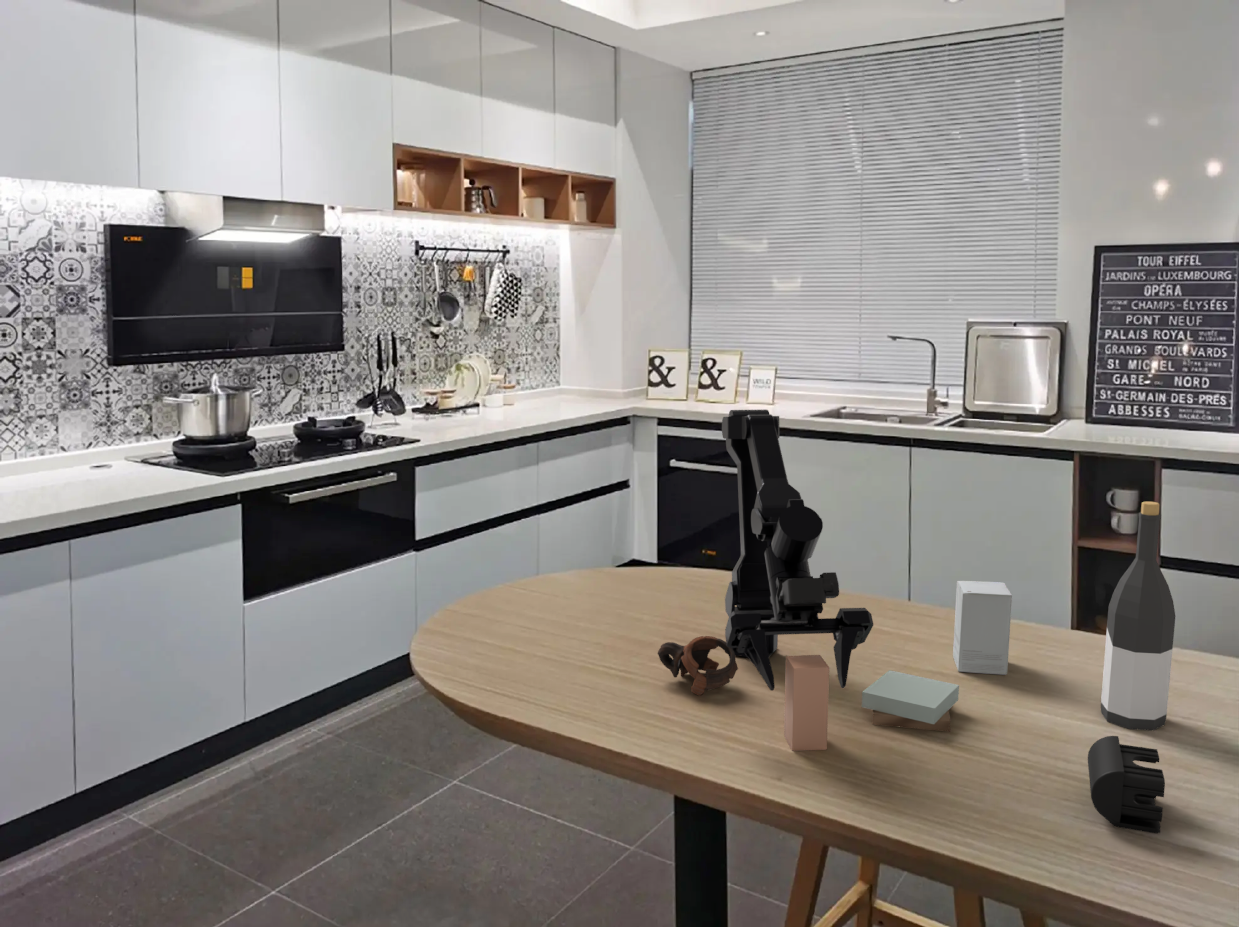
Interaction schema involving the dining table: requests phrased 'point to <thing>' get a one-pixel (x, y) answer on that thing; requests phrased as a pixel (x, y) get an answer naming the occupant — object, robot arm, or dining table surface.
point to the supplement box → (982, 627)
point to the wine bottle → (1139, 637)
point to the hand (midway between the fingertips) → (808, 688)
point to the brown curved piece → (699, 662)
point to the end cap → (1125, 784)
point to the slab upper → (910, 696)
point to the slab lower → (910, 721)
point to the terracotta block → (806, 702)
